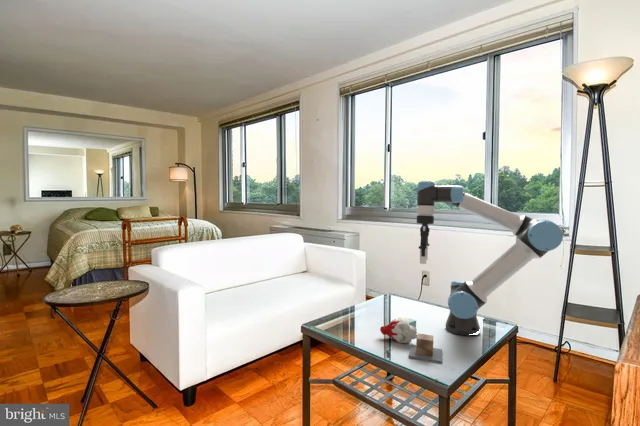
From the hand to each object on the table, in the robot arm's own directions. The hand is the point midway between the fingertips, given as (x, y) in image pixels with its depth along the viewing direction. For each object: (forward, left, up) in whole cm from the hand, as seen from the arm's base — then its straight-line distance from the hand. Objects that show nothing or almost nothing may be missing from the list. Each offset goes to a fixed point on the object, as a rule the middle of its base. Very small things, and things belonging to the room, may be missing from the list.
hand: (423, 261), depth 158 cm
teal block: (+6, -4, -33) cm, 34 cm away
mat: (-3, +24, -33) cm, 41 cm away
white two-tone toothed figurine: (+9, +13, -33) cm, 37 cm away
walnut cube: (-3, +24, -32) cm, 40 cm away
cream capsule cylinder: (+8, +2, -33) cm, 34 cm away
